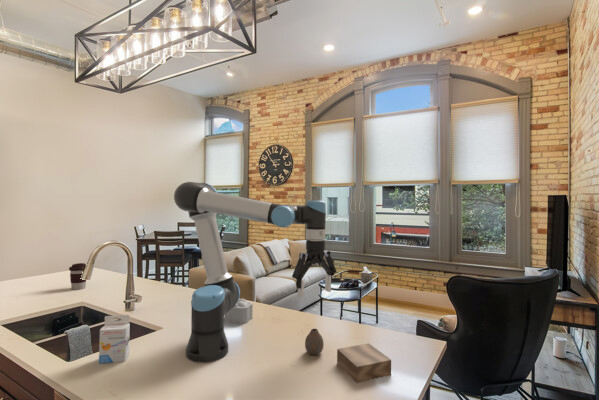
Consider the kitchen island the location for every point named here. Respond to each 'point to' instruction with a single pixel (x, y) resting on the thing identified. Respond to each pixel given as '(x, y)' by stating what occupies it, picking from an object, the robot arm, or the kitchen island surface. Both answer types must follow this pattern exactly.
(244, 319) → the grey angular block
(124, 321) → the ink box
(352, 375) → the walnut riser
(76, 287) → the coffee cup
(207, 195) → the robot arm
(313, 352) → the vase
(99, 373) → the kitchen island surface
